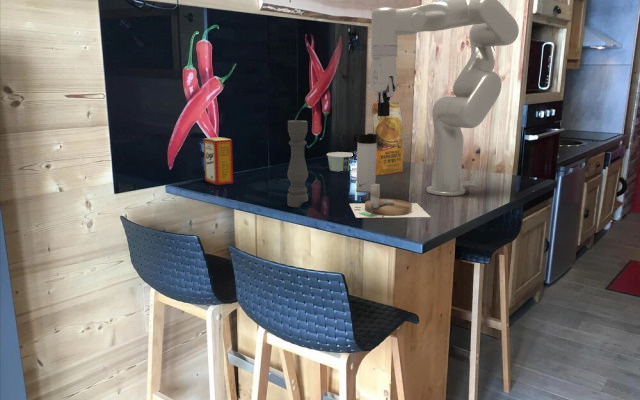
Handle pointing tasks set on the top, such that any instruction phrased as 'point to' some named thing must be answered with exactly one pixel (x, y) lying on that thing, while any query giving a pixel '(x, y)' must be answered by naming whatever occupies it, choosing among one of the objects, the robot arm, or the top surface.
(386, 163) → the pancake mix bag
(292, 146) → the candle holder
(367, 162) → the travel mug
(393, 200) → the dial
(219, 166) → the baking soda box
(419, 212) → the dial plate
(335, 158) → the food container
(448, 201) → the top surface
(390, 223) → the top surface
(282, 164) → the top surface
